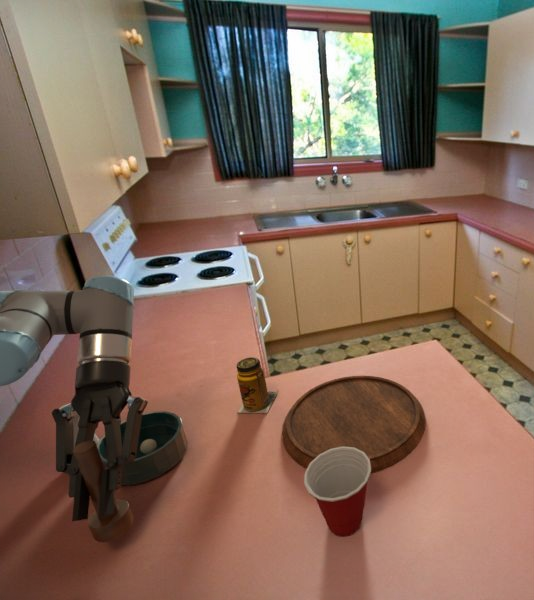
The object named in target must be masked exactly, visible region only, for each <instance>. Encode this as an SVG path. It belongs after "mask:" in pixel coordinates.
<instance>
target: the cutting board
mask: <svg viewBox="0 0 534 600" xmlns="http://www.w3.org/2000/svg"><path fill="white" fill-rule="evenodd" d="M425 427H426V415H425V411H424V408H423V405H422V403H421V402H420V401H419V399H418V398H417V397H416V396H415V395H414V394H413V393H412V392H411V391H410V390H409V389H408V388H407V387H406V386H404V385H402V384H401V383H399V382H397V381H394V380H391V379H389V378H386V377H385V378H384V377H380V376H374V375H351V376H343V377H339V378H334V379H331V380H328V381H325V382H322V383H320V384H318V385H316V386H315V387H312V388H311V389H309V390H308V391H306V392H305V393H304V394H302V395H301V396H300V397H299V398H298V399H297V400H296V401H295V402H294V404H292V406H291V408H290V409H289V410H288V412H287V414H286V416H285V418H284V420H283V423H282V429H281V437H282V443H283V446H284V449H285V450H286V452H287V454H288V455H289V456H290V458H291V459H292V460H294V462H296V464H298V465H300V466H301V467H303V468H305V469H306V470H307V468H308V466H309V464H310V463H311V462H312V461H313V460H314V459H315V458H316V457H317V456H318V455H320V454H321V453H323V452H325V451H327V450H329V449H333V448H338V447H354V448H356V449H358V450H360V451H363V452H364V453H365V454H366V456H367V457H368V458H369V459H370V465H371V473H370V475H372V474H374V473H377V472H381V471H383V470H386V469H388V468H390V467H392V466H395V465H396V464H398V463H400V462H401V461H402V460H405V458H407V456H409V455H410V454H411V453H412V452H413V451H414V450H415V449H416V447H418V445H419V443H420V442H421V440H422V438H423V436H424V432H425Z"/></svg>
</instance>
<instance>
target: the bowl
mask: <svg viewBox="0 0 534 600" xmlns="http://www.w3.org/2000/svg"><path fill="white" fill-rule="evenodd" d="M126 421H127V419H125V420H123V421H121V424H120V431H121V441H122V446H123V440H124V433H125V427H126ZM147 439H153V440H155V441H156V443H157V448H156V450H155V451H154V452H152V453H150V454H144V453H142V452H141V450H140V446H141V444H142V442H144V441H145V440H147ZM188 445H189V441H188V439H187V435H186V431H185V428H184V425H183V422H182V418H181V417H180V416H179V415H178V414H176V413H175V412H171V411H167V410H155V411H150V412H143V413H142V419H141V426H140V433H139V440H138V447H137V454H136V459H135V460H134V461H132V462H129V463H127V464H125V465H124V466H123V467H122V475H121V486H133V485H137V484H141V483H146V482H148V481H151V480H153V479H155V478H158V477H160V476H162V475H163V474H164V473H167V472H168V471H169V470H171V469H172V468H174V467H175V466H176V465H177V464H178V463H179V462H180V461H181V460H182V459H183V457H184V455H185V454H186V452H187V449H188ZM97 448H98V451H99V454H100V457H101V460H102V462H103V465H104V468H105V469H109V468H107V467H106V466H105V465H107V464H108V463H107V451H106V439H105V434H103V436H102V437H101V438H99V442H98V444H97Z"/></svg>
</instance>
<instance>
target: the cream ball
mask: <svg viewBox="0 0 534 600" xmlns="http://www.w3.org/2000/svg"><path fill="white" fill-rule="evenodd" d="M156 448H157V443H156V441H155V440H153V439H147V440H145V441H144V442H142V444H141V446H140V450H141V452H142V453H144V454H150V453H152V452H154V451H155V450H156Z"/></svg>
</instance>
